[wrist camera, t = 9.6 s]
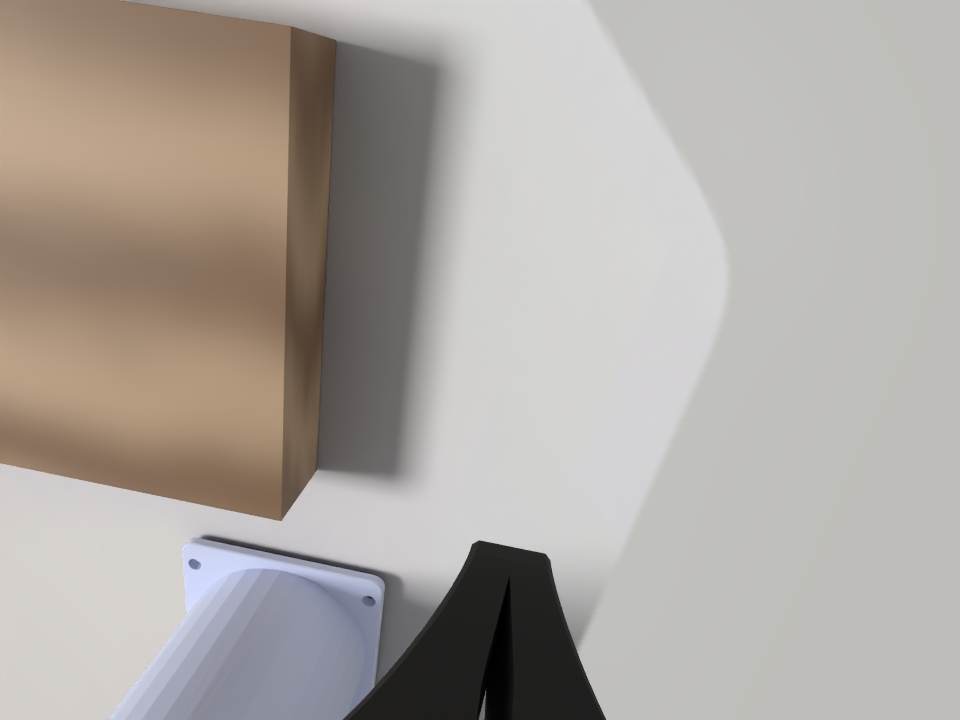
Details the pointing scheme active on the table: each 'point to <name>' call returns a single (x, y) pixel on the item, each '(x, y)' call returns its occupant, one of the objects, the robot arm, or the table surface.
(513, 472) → the table surface
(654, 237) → the table surface
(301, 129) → the walnut plate
